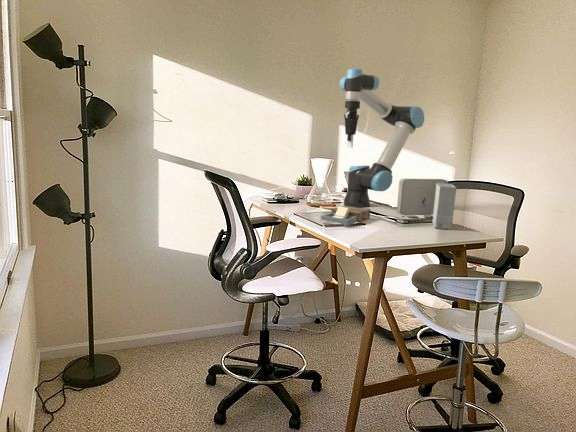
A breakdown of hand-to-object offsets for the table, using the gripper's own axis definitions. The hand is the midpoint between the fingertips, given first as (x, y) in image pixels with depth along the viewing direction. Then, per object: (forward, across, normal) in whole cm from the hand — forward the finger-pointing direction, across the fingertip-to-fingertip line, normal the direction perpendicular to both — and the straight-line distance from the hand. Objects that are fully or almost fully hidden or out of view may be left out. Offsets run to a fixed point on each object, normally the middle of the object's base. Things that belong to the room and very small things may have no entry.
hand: (349, 147), depth 242 cm
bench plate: (+34, +14, +10) cm, 39 cm away
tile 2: (+31, +23, +10) cm, 40 cm away
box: (+34, +27, +10) cm, 45 cm away
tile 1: (+31, +29, +10) cm, 44 cm away
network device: (+35, -17, +35) cm, 52 cm away
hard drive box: (+35, -3, +50) cm, 61 cm away
